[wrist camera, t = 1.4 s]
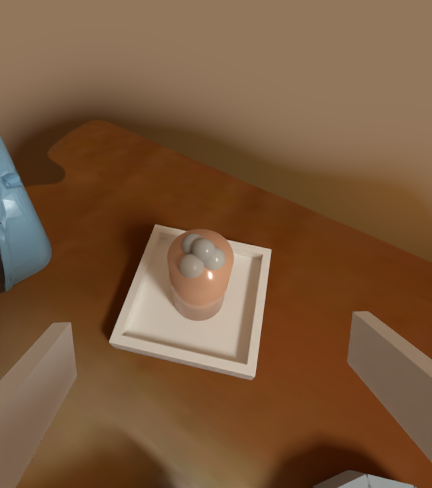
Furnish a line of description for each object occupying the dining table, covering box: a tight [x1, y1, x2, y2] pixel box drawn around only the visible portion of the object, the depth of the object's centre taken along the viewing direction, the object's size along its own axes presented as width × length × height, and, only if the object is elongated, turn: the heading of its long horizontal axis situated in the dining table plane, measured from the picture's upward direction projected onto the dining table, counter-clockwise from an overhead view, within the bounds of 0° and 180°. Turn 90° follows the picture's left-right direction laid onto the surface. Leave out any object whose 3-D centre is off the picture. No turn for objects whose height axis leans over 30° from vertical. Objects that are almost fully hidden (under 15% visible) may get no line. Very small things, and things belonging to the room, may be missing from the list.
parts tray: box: [109, 224, 271, 380], centre depth 37 cm, size 16×16×2 cm
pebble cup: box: [167, 229, 234, 321], centre depth 32 cm, size 6×6×12 cm
